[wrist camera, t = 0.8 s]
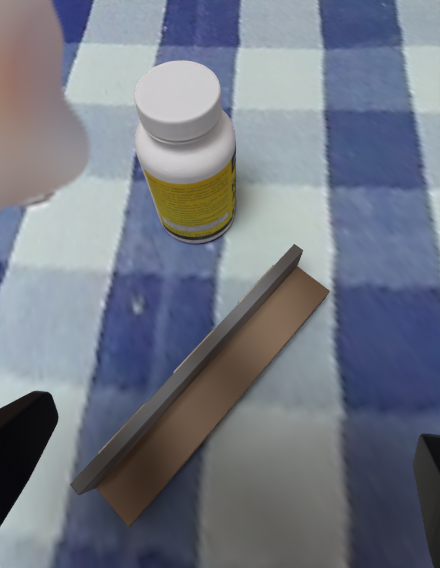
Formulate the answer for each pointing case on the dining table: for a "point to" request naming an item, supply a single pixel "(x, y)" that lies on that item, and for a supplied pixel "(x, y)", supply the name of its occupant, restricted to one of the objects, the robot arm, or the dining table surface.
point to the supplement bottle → (186, 150)
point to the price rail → (202, 390)
